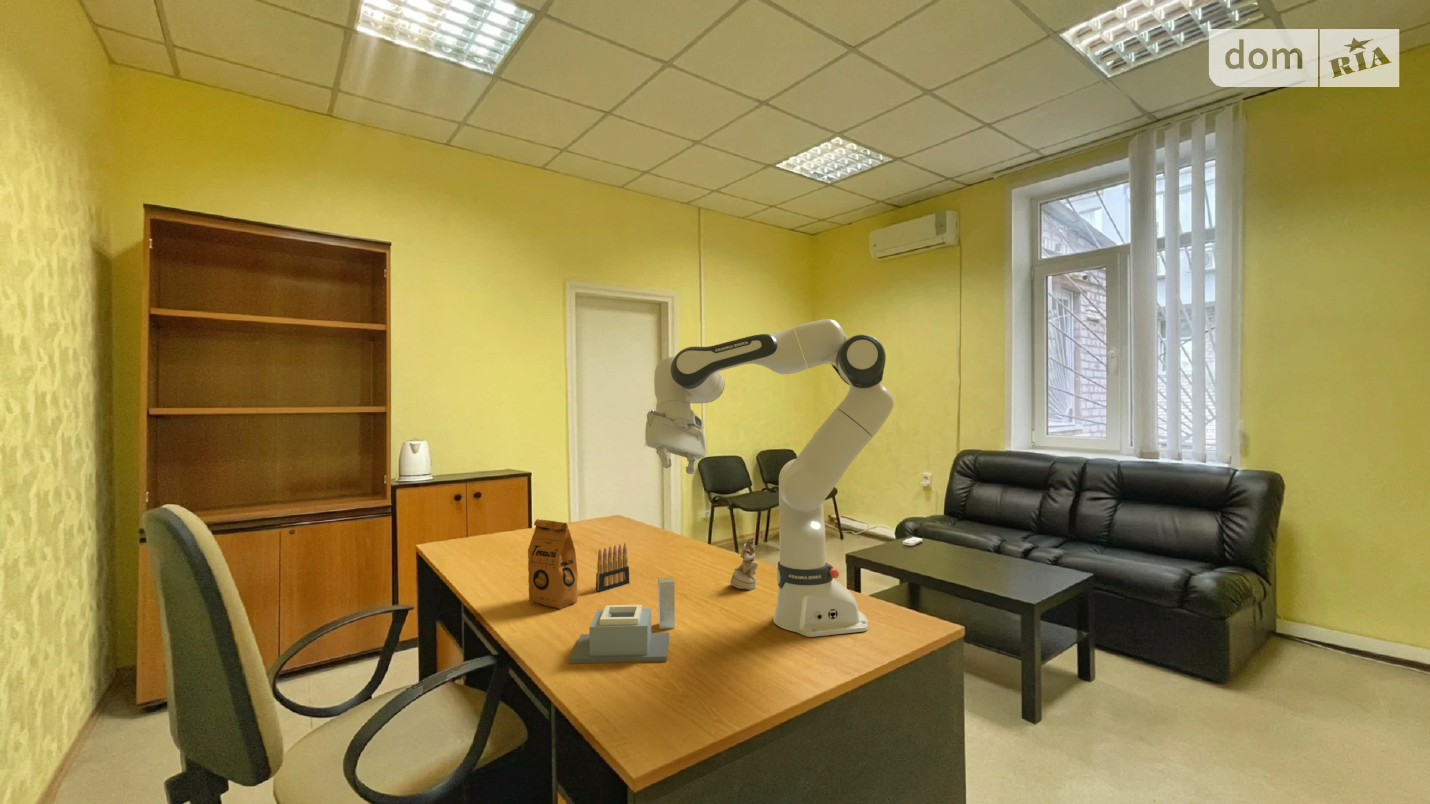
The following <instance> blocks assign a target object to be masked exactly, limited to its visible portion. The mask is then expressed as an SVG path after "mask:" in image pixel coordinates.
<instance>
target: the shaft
mask: <svg viewBox="0 0 1430 804" xmlns="http://www.w3.org/2000/svg"><path fill="white" fill-rule="evenodd" d="M657 594H658V595H657V598H658V599H657V601H658V602H657V606H658V609H657V613H658V615H657V617H658V618H657V619H658V620H657V621H658V627H659V630H666V629H670V630H671V629H675V628H676V625H675V623H676V622H675V620H676V619H675V617H676V615H675V614H676V610H675V609H676V608H675V605H676V603H675V600H676V599H675V597H676V595H675V580H674V577H672V576H670V577H659V578H657Z"/></svg>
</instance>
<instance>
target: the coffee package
mask: <svg viewBox="0 0 1430 804" xmlns="http://www.w3.org/2000/svg"><path fill="white" fill-rule="evenodd" d="M533 525H534V526H535V529H534V531H533V534H532V537H531V540H530V543H529V546H528V548H527V558H528V561H527V564H528V566H527V567H528V568H527V569H528V578H527V579H528V602H532V603H537V604H542V606H543V605H544V606H546V607H550V608H555V609H559V610H562V609H563V608H567V607H569V606H570V605H573V604H576V603H578V577H579V576H578V575H579V574H578V573H579V572H578V566H577V565H578V564H577V558H576V557H577V555H576V549H575V544H574V541H573V538H572V536H571V532H570V529H569V526H568V523H567V522H561V521H556V520H550V519H549V520H547V519H538V518H537V519H536V520H535V521H534V522H533Z"/></svg>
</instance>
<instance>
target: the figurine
mask: <svg viewBox="0 0 1430 804" xmlns="http://www.w3.org/2000/svg"><path fill="white" fill-rule="evenodd" d="M740 558H742V562H741V564H740V565H739V566H738V567H736V568H735V569H734V571H733V572H732V575H731V579H730V585H731V586H733V587H735V588H737V589H743V590H748V591H752V590H754V589H756V587H757V577H756V576H755V575H756V574H757V569H758V566H759V563H758V562H757V561H756V560H755V559H756V553H755V537H751V538H749V539H748V540H747V541H746V543H743V548H742V551H741V554H740Z"/></svg>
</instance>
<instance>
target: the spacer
mask: <svg viewBox="0 0 1430 804" xmlns="http://www.w3.org/2000/svg"><path fill="white" fill-rule="evenodd" d="M642 608H643V605H642V604H615V605H614V604H612V605H609V604H608V605H605V607H604V608H603V609H604V611H603V613H602V616H601V618H600V625H627V624H638V623H639V619H640V616H641V612H642ZM610 612H635V615H634V617H608V616H609V613H610Z"/></svg>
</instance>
